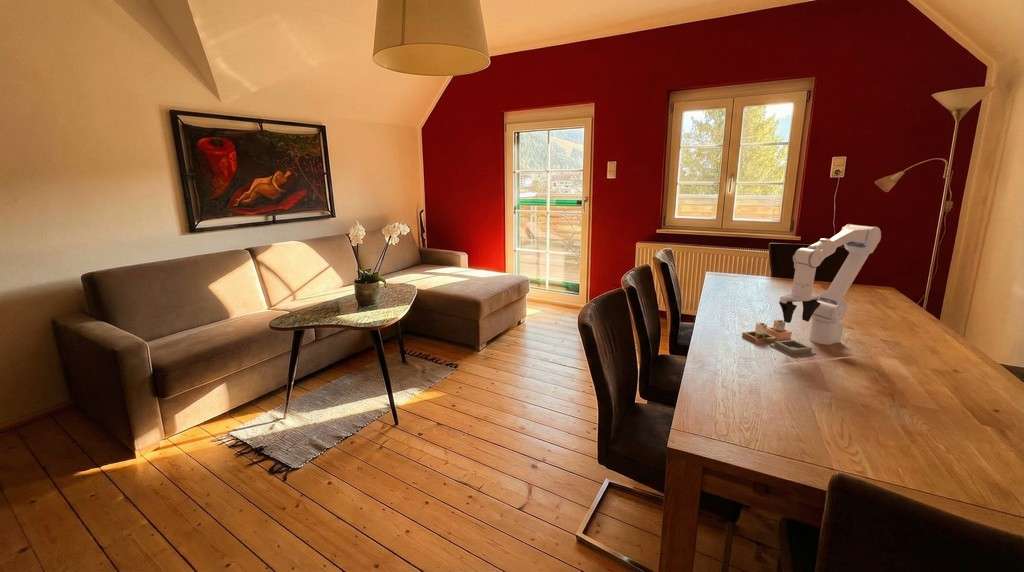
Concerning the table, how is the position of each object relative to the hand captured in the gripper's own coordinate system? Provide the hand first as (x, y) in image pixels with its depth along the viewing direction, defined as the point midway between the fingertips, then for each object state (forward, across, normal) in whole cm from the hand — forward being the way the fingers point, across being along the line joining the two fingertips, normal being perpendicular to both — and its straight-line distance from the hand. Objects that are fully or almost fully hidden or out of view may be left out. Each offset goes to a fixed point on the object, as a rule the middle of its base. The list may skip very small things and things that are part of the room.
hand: (796, 321), depth 151 cm
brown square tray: (+10, +7, -8) cm, 14 cm away
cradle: (+10, +3, +3) cm, 11 cm away
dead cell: (+9, -2, -9) cm, 13 cm away
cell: (+9, +7, -8) cm, 14 cm away
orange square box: (+10, -2, -9) cm, 14 cm away
